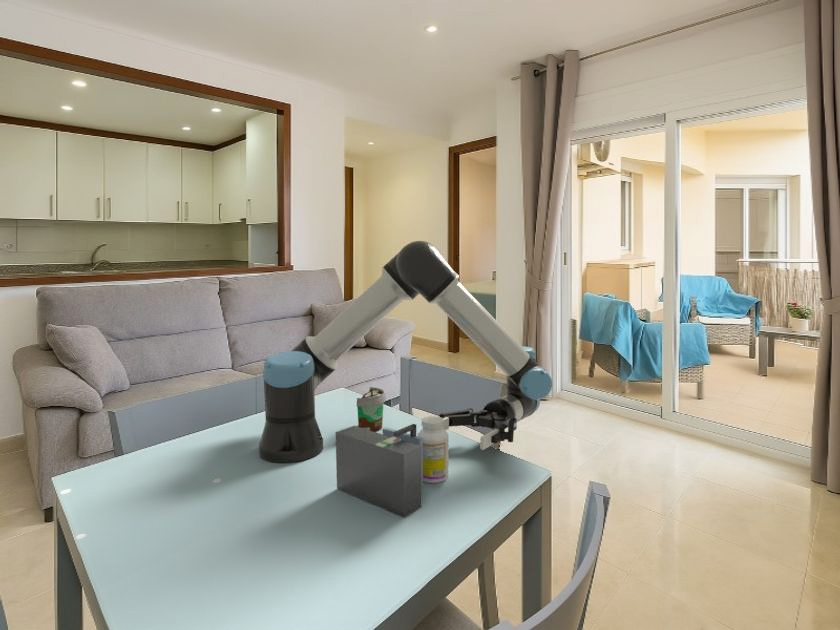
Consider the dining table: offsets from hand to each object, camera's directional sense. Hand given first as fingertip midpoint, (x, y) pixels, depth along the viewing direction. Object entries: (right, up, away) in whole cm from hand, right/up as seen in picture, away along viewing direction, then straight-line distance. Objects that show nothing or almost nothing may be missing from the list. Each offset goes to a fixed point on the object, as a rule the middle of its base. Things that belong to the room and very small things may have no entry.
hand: (455, 436), depth 113 cm
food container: (-20, -4, +25) cm, 33 cm away
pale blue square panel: (-13, -7, -10) cm, 18 cm away
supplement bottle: (-5, -8, -5) cm, 11 cm away
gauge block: (-16, -9, -14) cm, 23 cm away
